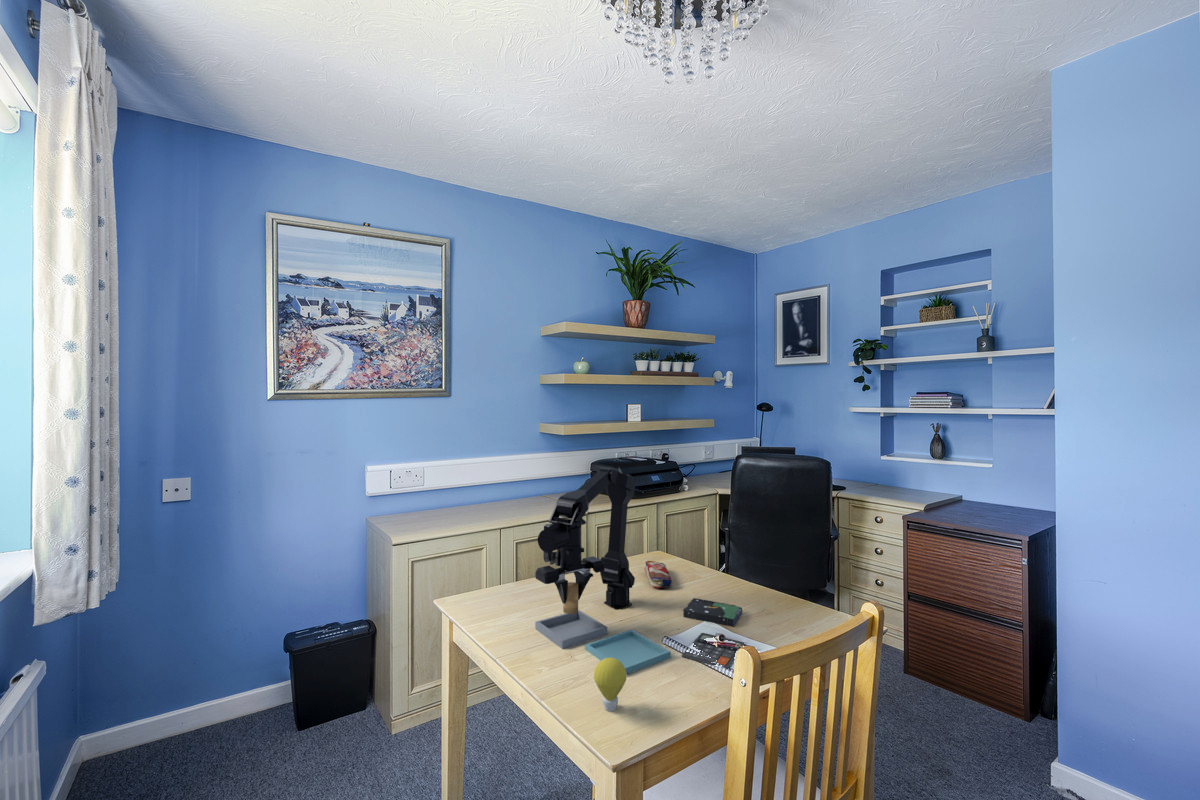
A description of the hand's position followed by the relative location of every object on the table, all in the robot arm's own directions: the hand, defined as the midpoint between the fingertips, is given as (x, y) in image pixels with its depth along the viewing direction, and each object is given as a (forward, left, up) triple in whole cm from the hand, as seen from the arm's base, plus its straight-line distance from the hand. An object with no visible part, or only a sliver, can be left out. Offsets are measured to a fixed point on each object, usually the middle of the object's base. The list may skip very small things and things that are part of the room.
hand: (570, 601), depth 145 cm
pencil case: (-46, -17, -9) cm, 50 cm away
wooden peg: (0, 0, -2) cm, 2 cm away
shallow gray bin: (0, 0, -8) cm, 9 cm away
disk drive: (-40, +14, -9) cm, 43 cm away
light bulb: (+12, +34, -9) cm, 37 cm away
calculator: (-24, +29, -9) cm, 39 cm away
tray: (-5, +18, -8) cm, 21 cm away
